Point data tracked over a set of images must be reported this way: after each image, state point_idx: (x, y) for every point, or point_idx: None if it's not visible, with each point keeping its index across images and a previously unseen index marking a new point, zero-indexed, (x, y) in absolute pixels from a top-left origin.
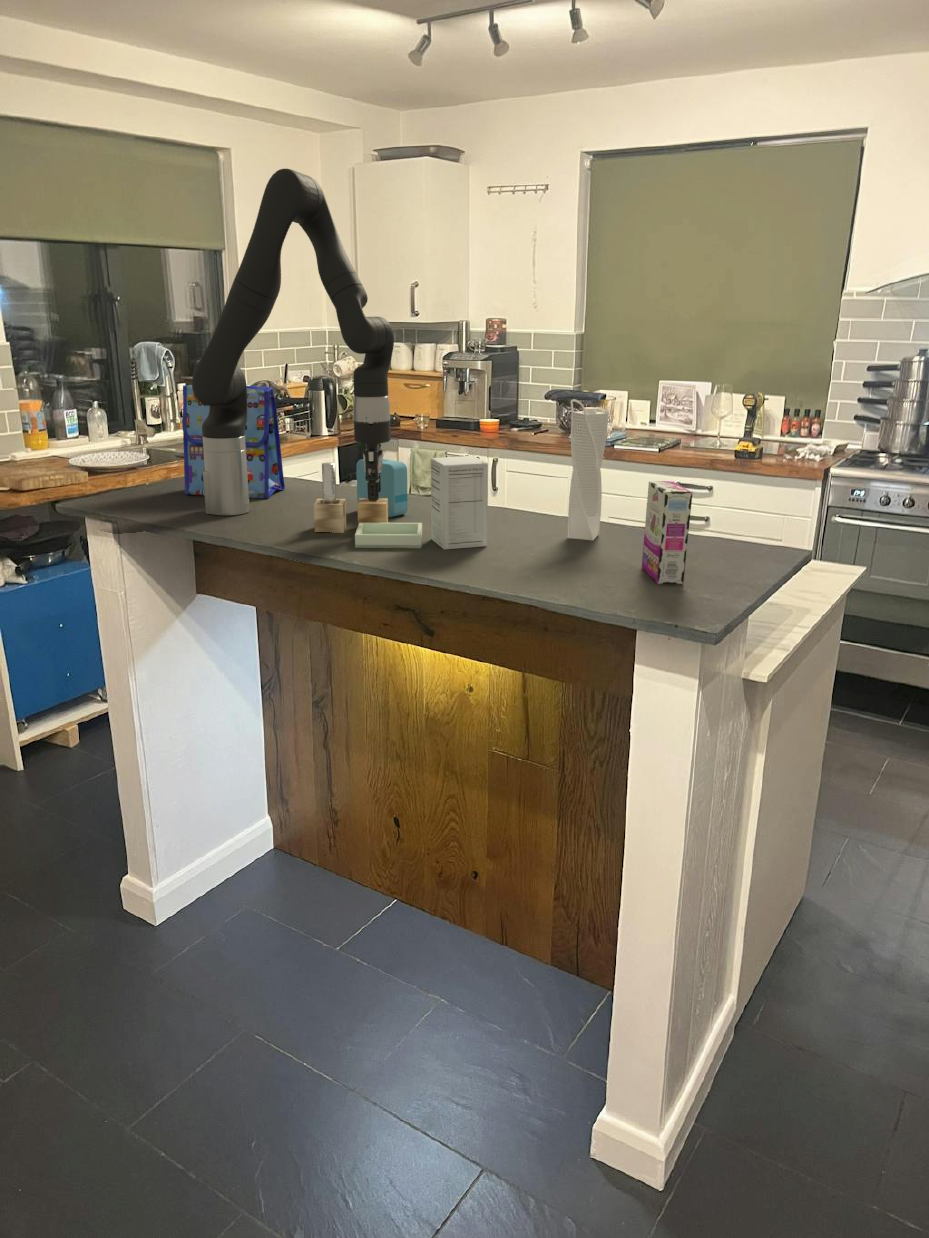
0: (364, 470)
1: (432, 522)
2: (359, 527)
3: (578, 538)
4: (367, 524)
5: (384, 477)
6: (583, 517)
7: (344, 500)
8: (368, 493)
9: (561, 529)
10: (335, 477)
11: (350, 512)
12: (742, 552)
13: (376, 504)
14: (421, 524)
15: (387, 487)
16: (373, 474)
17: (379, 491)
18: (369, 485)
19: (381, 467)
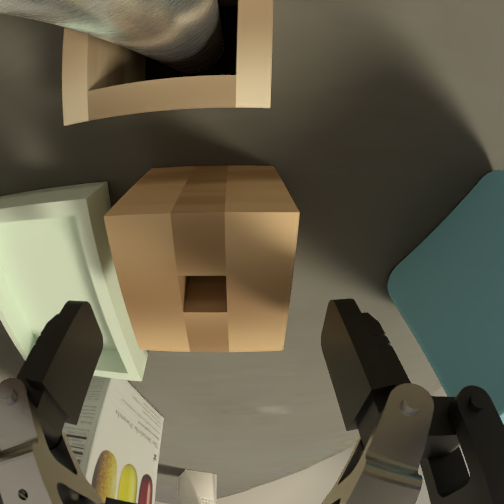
0: (16, 456)
1: (91, 402)
2: (19, 213)
3: (183, 472)
4: (80, 232)
5: (490, 348)
6: (180, 496)
7: (211, 106)
8: (55, 327)
9: (235, 469)
10: (36, 12)
11: (479, 138)
12: (164, 497)
13: (129, 311)
14: (121, 378)
15: (455, 331)
16: (371, 410)
17: (322, 341)
18: (21, 373)
19: (326, 496)
